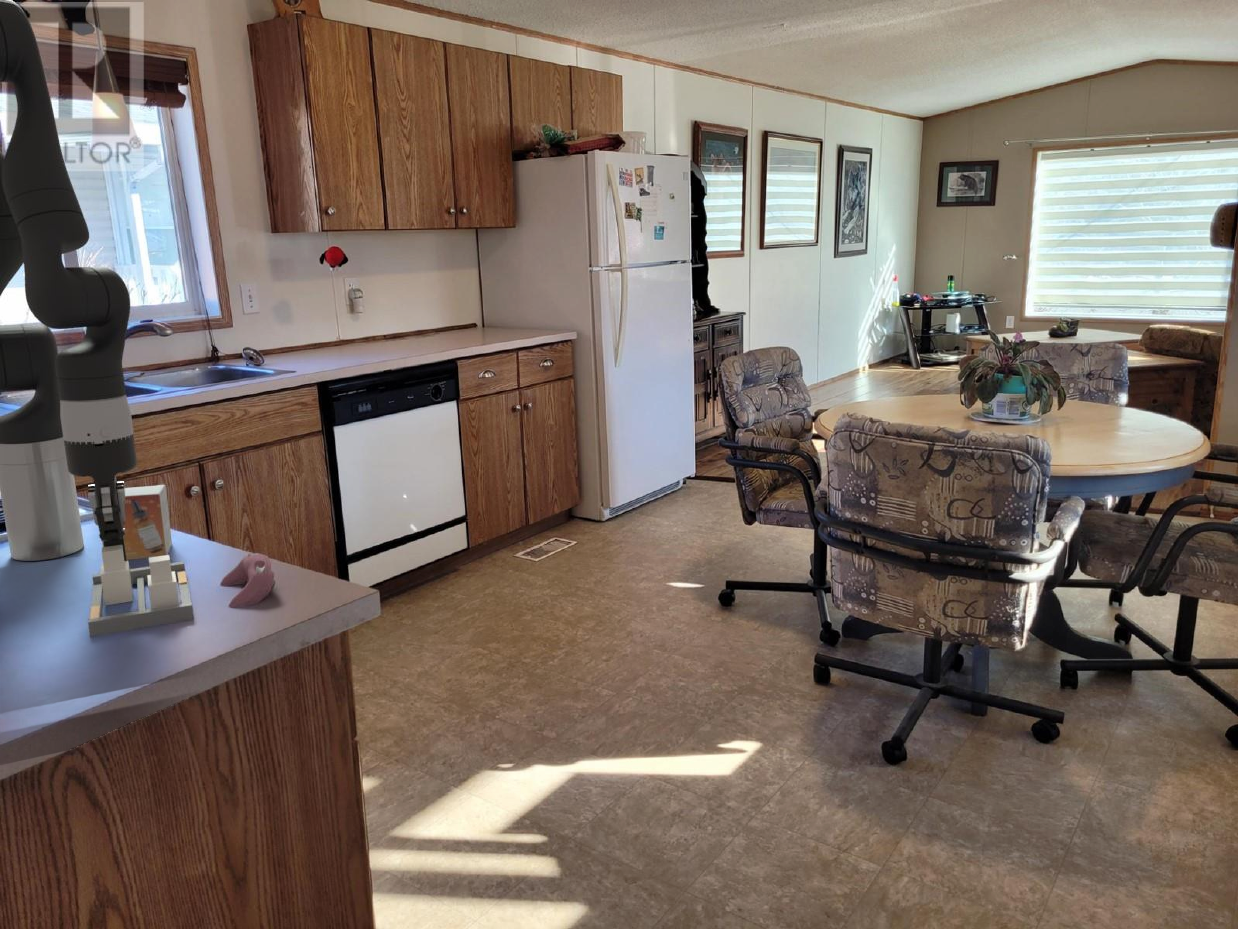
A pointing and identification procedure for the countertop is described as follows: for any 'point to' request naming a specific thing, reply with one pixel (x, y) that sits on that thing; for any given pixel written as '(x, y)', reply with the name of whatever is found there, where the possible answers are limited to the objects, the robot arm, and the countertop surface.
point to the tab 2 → (162, 583)
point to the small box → (146, 522)
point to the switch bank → (139, 605)
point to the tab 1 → (115, 576)
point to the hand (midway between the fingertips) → (117, 566)
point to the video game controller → (251, 579)
